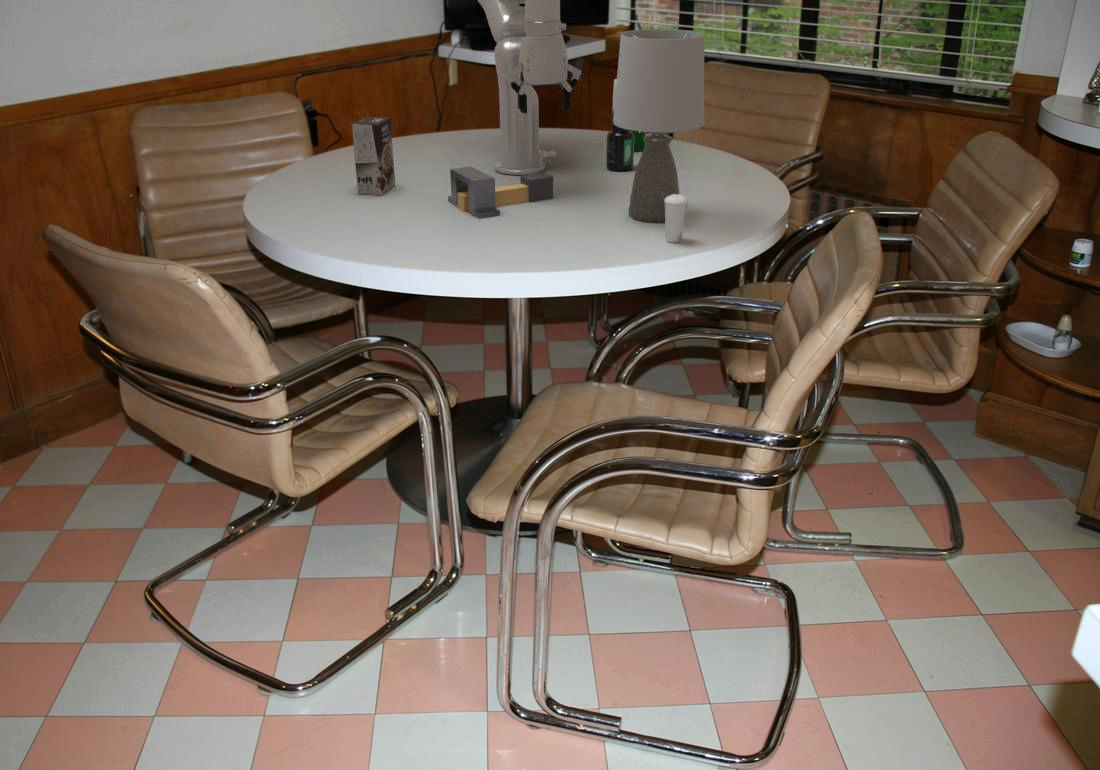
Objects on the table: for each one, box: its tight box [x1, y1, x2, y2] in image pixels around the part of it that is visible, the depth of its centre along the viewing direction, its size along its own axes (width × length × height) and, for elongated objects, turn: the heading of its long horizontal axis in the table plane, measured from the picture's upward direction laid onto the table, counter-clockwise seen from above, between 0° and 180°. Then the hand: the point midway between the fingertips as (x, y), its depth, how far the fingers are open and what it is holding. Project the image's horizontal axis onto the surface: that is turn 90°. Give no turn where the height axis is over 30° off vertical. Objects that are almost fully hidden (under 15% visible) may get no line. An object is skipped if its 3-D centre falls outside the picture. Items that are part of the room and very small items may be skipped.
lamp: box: [613, 28, 705, 223], centre depth 204 cm, size 19×19×37 cm
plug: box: [457, 172, 554, 213], centre depth 220 cm, size 22×4×5 cm, turn 120°
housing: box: [447, 166, 501, 219], centre depth 216 cm, size 5×16×8 cm, turn 30°
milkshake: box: [661, 192, 689, 244], centre depth 194 cm, size 5×5×10 cm
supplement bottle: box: [605, 119, 635, 173], centre depth 246 cm, size 7×7×12 cm
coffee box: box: [351, 116, 396, 196], centre depth 228 cm, size 9×6×16 cm
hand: (544, 111), depth 221 cm, fingers open, 9 cm apart
